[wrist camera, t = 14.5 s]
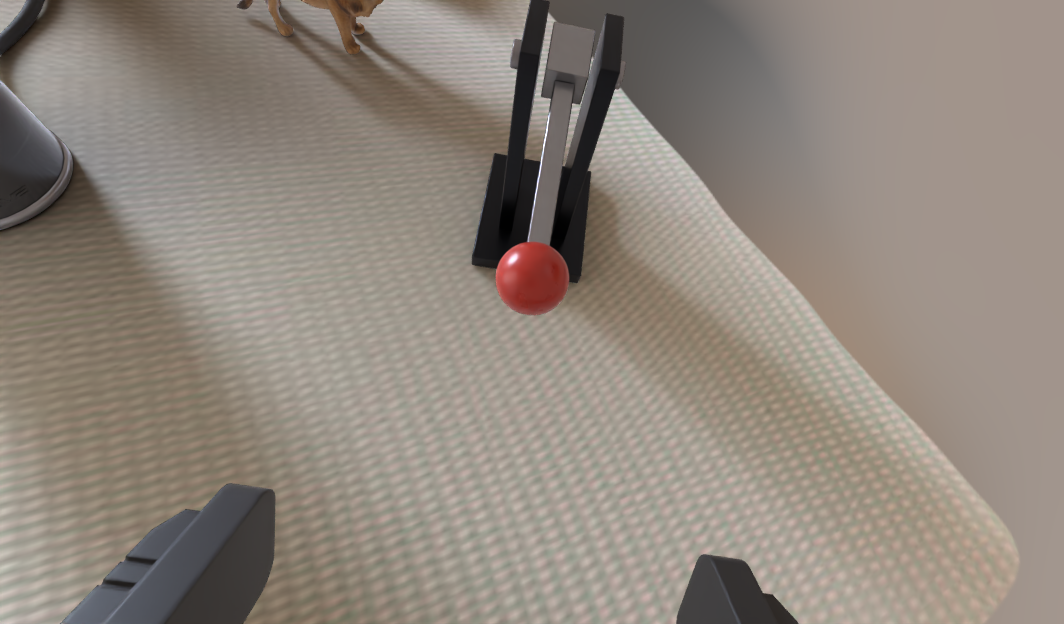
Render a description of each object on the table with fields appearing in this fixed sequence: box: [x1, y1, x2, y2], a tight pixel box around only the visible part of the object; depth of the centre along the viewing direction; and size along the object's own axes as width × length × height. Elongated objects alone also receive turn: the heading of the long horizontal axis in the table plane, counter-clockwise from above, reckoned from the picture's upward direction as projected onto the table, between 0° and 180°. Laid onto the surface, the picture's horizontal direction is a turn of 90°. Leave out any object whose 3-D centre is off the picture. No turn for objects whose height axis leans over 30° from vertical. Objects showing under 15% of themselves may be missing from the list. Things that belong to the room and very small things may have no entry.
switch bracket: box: [472, 0, 625, 283], centre depth 32 cm, size 10×8×16 cm
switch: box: [496, 22, 595, 315], centre depth 26 cm, size 15×4×4 cm, turn 172°
